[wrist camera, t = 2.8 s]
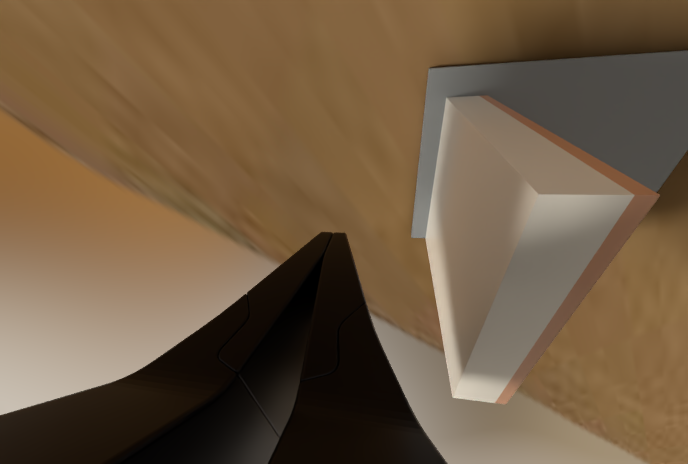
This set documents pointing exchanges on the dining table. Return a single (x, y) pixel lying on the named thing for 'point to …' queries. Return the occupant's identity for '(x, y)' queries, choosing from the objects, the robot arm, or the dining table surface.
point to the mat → (574, 111)
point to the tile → (516, 240)
